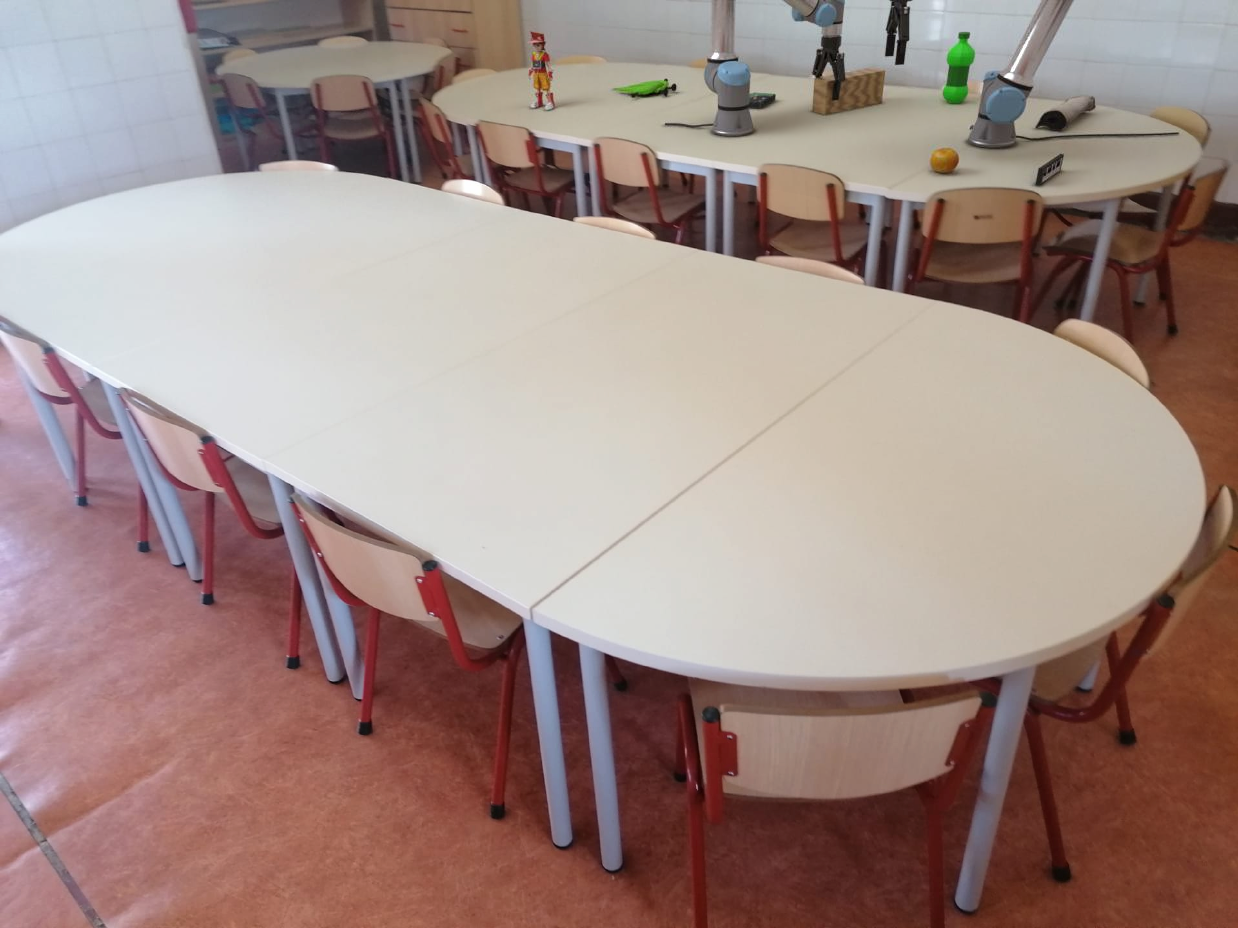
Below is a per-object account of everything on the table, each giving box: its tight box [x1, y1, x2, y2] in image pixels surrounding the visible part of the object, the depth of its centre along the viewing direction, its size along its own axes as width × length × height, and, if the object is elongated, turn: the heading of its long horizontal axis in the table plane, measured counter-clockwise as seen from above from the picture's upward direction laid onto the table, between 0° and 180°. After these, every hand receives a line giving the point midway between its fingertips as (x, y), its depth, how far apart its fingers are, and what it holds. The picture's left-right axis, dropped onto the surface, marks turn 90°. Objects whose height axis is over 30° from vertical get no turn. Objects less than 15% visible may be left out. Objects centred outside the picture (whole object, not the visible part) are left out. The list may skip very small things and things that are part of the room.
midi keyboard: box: [1035, 153, 1065, 186], centre depth 273 cm, size 18×1×5 cm, turn 138°
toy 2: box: [612, 78, 677, 99], centre depth 396 cm, size 28×5×30 cm
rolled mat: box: [1035, 94, 1097, 132], centre depth 323 cm, size 30×9×10 cm
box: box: [811, 66, 886, 116], centre depth 354 cm, size 29×8×12 cm, turn 118°
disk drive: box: [749, 92, 777, 109], centre depth 368 cm, size 10×3×15 cm
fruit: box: [929, 147, 960, 174], centre depth 283 cm, size 8×8×8 cm
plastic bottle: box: [942, 31, 976, 104], centre depth 348 cm, size 10×10×25 cm
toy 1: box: [527, 31, 556, 111], centre depth 374 cm, size 12×9×30 cm
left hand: (826, 97), depth 351 cm, fingers open, 10 cm apart
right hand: (894, 60), depth 289 cm, fingers open, 13 cm apart
